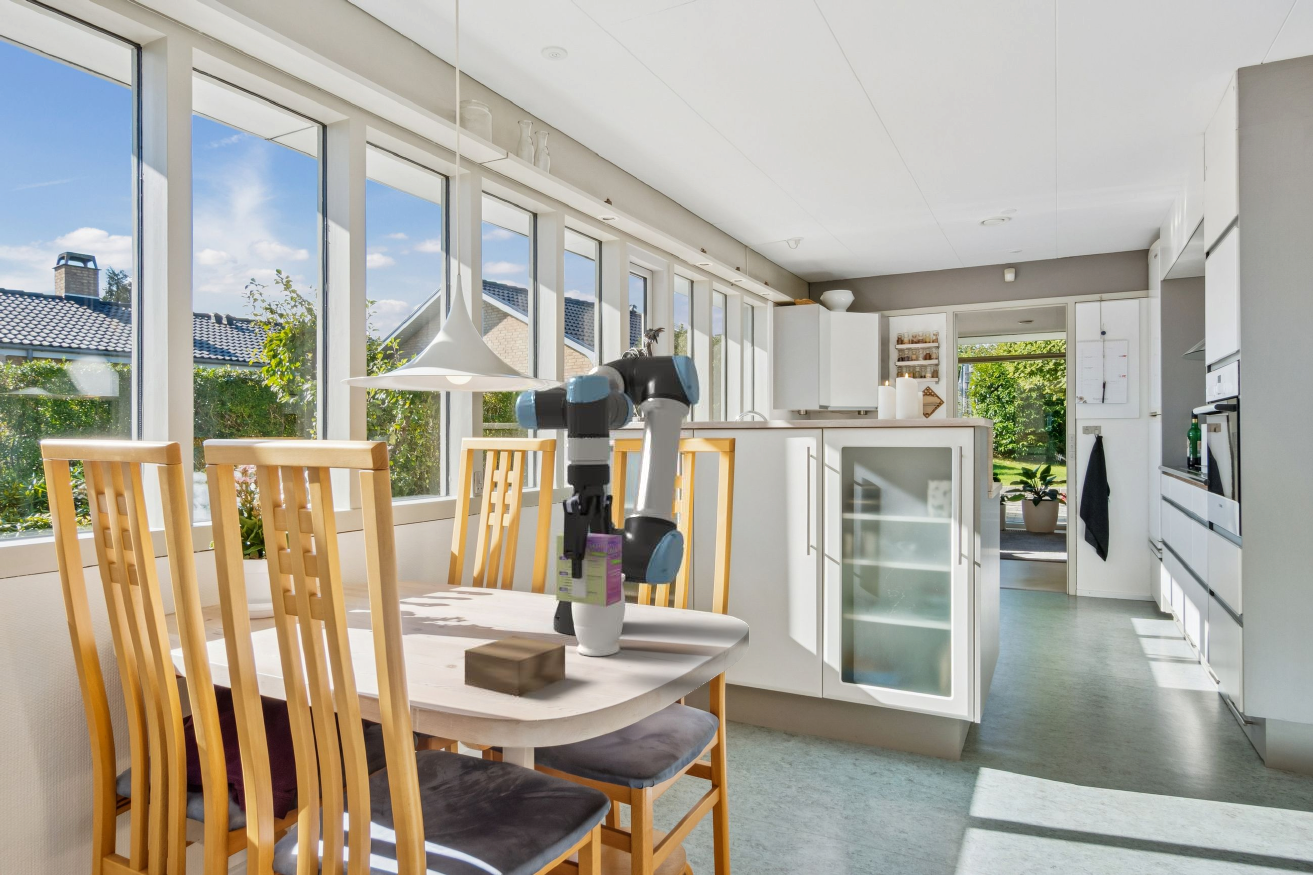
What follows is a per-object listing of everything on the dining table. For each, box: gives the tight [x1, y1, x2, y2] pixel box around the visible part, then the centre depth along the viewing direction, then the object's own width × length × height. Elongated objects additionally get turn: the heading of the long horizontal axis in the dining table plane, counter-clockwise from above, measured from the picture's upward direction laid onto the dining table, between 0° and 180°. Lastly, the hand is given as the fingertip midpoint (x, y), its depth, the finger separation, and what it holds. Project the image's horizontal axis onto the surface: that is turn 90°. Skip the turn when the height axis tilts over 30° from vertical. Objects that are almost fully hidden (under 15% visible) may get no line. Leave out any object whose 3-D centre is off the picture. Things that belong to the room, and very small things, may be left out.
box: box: [555, 533, 622, 606], centre depth 138 cm, size 10×6×12 cm, turn 64°
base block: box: [464, 635, 566, 697], centre depth 133 cm, size 12×12×6 cm
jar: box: [572, 573, 626, 657], centre depth 153 cm, size 11×10×15 cm
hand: (589, 592), depth 138 cm, fingers closed on box, 6 cm apart
